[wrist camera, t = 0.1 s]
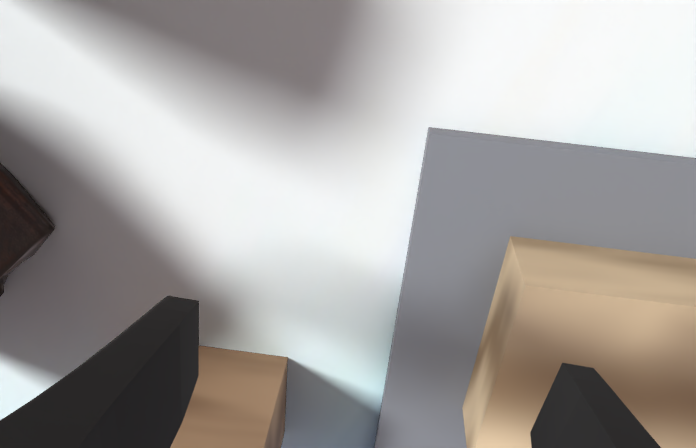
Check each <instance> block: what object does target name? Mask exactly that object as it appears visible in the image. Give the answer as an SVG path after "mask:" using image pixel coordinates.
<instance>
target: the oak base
mask: <svg viewBox="0 0 696 448" xmlns="http://www.w3.org/2000/svg"><path fill="white" fill-rule="evenodd" d="M562 363H568V364H573V365H579V366H585V367H591V368H594V369H595V370H596V371H597V372H598V374H599V375H600V376H601V377H602V378H603V379H604V380H605V382H606V383H607V384H608V385H609V386H610V387H611V389H612V390H613V391H614V392H615V393H616V395H617V396H618V397H619V398H620V399H621V401H622V402H623V403H624V404H625V405H626V407H627V408H628V409H629V410H630V411H631V413H632V414H633V415H634V416H635V417H636V419H637V420H638V421H639V422H640V423H641V424H642V426H643V427H644V428H645V429H646V430H647V432H648V433H649V434H650V435H651V436H652V438H653V439H654V440H655V441H656V442H657V443H658V445H659V446H660V447H661V448H696V259H693V258H685V257H677V256H669V255H661V254H652V253H644V252H636V251H628V250H620V249H612V248H603V247H595V246H587V245H579V244H571V243H563V242H554V241H546V240H538V239H530V238H522V237H514V236H510V239H509V242H508V246H507V250H506V253H505V257H504V260H503V264H502V268H501V271H500V275H499V278H498V282H497V286H496V289H495V293H494V296H493V300H492V303H491V307H490V311H489V314H488V318H487V321H486V325H485V329H484V332H483V336H482V339H481V343H480V346H479V350H478V354H477V357H476V361H475V364H474V368H473V372H472V375H471V379H470V382H469V386H468V390H467V393H466V397H465V400H464V404H463V407H462V409H463V418H464V427H465V436H466V446H467V448H532V446H531V436H530V432H531V430H532V427H533V425H534V423H535V421H536V419H537V417H538V414H539V412H540V410H541V408H542V406H543V403H544V401H545V399H546V397H547V395H548V393H549V390H550V388H551V386H552V384H553V382H554V380H555V377H556V375H557V373H558V371H559V369H560V367H561V364H562Z"/></svg>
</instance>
